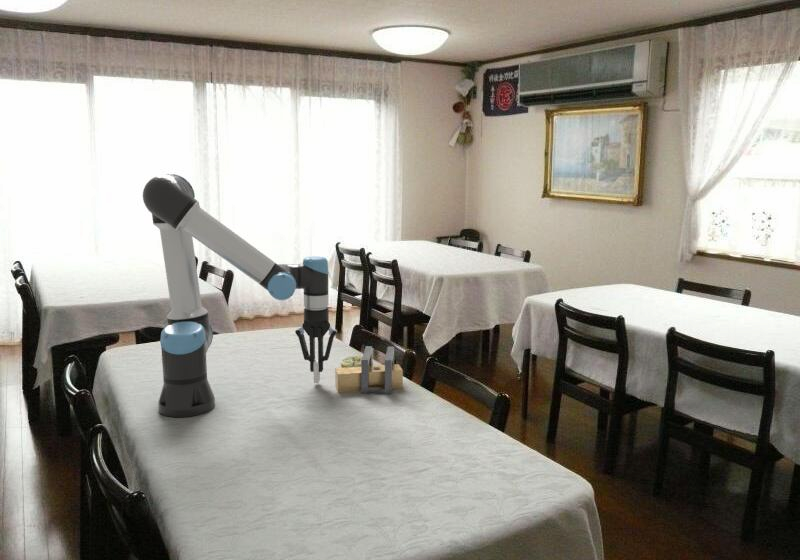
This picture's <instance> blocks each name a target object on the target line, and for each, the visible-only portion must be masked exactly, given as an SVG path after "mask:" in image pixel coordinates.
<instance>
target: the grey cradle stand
mask: <svg viewBox="0 0 800 560" xmlns="http://www.w3.org/2000/svg"><path fill="white" fill-rule="evenodd" d="M361 356H362V359H361V375H362V391H361V394H364V395H365V394H380V395H382V394H385V395H392V393H393V389H392V365H393V364H395V346H387V348H386V354H385V358H384V365H385V388H383V387H369V366H373V365H372V360H373V346H370V345H366V346H365V348H364V352H363V353H362V355H361Z"/></svg>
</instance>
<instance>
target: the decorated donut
mask: <svg viewBox="0 0 800 560" xmlns="http://www.w3.org/2000/svg"><path fill="white" fill-rule="evenodd" d="M362 356H363V355H361V354H360V355H357V354H356V355H352V356H347V357H345V358H343V359H342V360H341V361H340V366H341V367H340V368H347V367H361V359H362ZM372 366H374V360H373V359H372Z"/></svg>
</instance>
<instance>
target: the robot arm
mask: <svg viewBox="0 0 800 560" xmlns="http://www.w3.org/2000/svg"><path fill="white" fill-rule="evenodd" d="M195 197H196V196H195V191H194V187H193V186H192V185H191V183H190V182H189V181H188V180H187V179H186V178H184V177H182V175H179V174H172V173H171V174H170V173H167V174H162V175H156V176H155V177H153V178H151V179H149V180H148V182H147V183H146V184H145V185H144V187H143V189H142V200H143V204H144V206H145V207H146V208H147V210H148V212H150V213H151V217H152V223H153V225H154V226H155V227H156V228H157V229H159V233H160V239H161V241H160V242H161V247H162V253H163V260H164V268H165V274H166V281H167V282H166V283H167V289H168V294H169V295H168V297H169V303H170V308H171V310H170V311H169V313H168V314H167V315H166V320H167V326H165V327H164V328H163V329H162V331H161V333H160V341H159V342H160V346H161V348H160V349H161V362H162V376H163V377H162V379H163V385H162V387H161V392H160V394H159V395H160V396H159V399H158V403H157V404H158V407H157V408H158V413H160V414H161V415H162V414H163V416H165V415H166V417H171V418H185V417H186V418H187V417H194V416H199V415H201V414H205V413H207V412H209V411H211V410H212V409H214V408H215V406H216V405H215V404H216V398H215V394H214V393H213V390H212V388H211V384H210V382H209V380H208V366H207V352H208V351H209V349H210V347H211V345H212V341H213V338H214V331H213V327H212V325H211V323H210V318H209V312H208V310H207V309H206V308H205V307H203V305H202V298H201V290H200V283H199V275H198V270H197V269H198V268H197V263H196V261H197V260H196V254H195V246H194V239H195V240H196V241H198V242H200V243H201V244H202V245H204V246H205V247H207V248H208V249H209V250H210V251H212V252H213V253H214V254H216V255H218V256H219V257H220V258H222V259H224V260H225V261H226V262H227V263H229V264H230V265H232V266H233V267H234V268H236V269H237V270H239V271H240V272H242V273H243V274H244V275H245V276H247V277H248V278H250V279H252V280H253V281H254V282H255V283H257V284H258V285H260V286H261V287H262V288H263V289H265V290H266V291H268V293H269V295H270V296H271V297H272V298H273V299H275V300H278V301H286V300H289V299H290V298H292V296H294V293H295V292H296V290H300V289H303V307H304V309H303V323H302V326H301V327H298V328H297V329H296V330H295V331H294V332H295V334H296V336H297V338H298V341H299V345H300V348H301V352H302V356H303V359H304V360H305V361H309V367H310V368H309V370H310V372H312V373H313V384H319V382H320V381H321V373H323V371H324V362H325V361H328V360H329V358H330V354H331V350H332V347H333V341H334V338H335V337H336V335H337V333H338V329H337V328H334V327H332V326H331V323H330V321H329V319H330V318H329V315H330V314H329V313H330V311H329V308H328V306H329V265H328V264H329V262H328V261H329V260H328V259H327V258H326V257H324V256H315V255H313V256H305V257H304V258H302V259H303V260H302V263H298V264H297V263H296V264H294V263H292V264H291V263H290V264H289V263H287V264H285V263H282V264H281V263H280V264H279V263H278V264H277V262H275V261H274V260H272V259H271V258H269V257H268V256H267V255H266V254H264V253H263V252H261V251H260V250H259V249H258V248H256V247H254V246H253V245H252V244H250V243H249V242H248V241H246V240H245V239H244V238H242V237H241V236H240V235H238V234H237V233H235V232H234V231H233V230H232V229H230V228H229V227H227V226H226V225H225V224H223V223H222V222H220V221H219V220H218V219H217V218H215V217H214V216H212V215H211V214H210V213H208V212H207V211H205V210H204V209H203V208H201V205H200V202H199V201H198V200H197V199H195ZM305 333H306V335H307V336H308V337H309V339H308V340H309V350H308V345H307V341H306V338H305V335H304V334H305ZM327 333H328V335H329V337H328V340H327V344H326V350H325V353H324V337H325V335H326V334H327ZM316 338H317V360H316Z"/></svg>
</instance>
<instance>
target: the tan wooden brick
mask: <svg viewBox="0 0 800 560" xmlns="http://www.w3.org/2000/svg"><path fill="white" fill-rule="evenodd" d="M334 374H335V385H334V386H335V389H336V391H337V393H348V392H349V393H350V392H362V375H361V367H347V368H342V367H336V368H334ZM403 374H404V371H403V368H402V367H401V365H400V364H398V363H397V364H395V363H394V364H393V365H392V390H393V389H403V387H404V385H403V381H404V380H403V378H404V377H403ZM369 387H383V388H385V364H382V365H381V364H380V365H372V366H369Z"/></svg>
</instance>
